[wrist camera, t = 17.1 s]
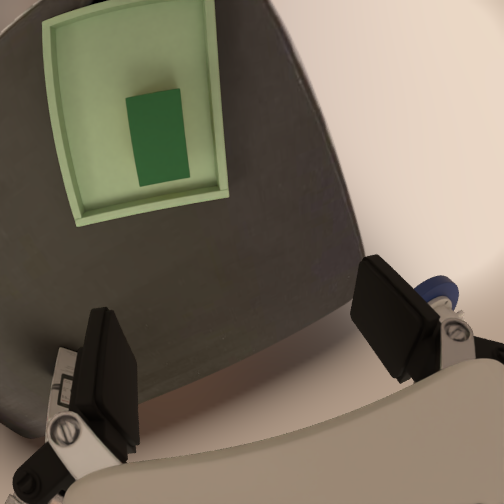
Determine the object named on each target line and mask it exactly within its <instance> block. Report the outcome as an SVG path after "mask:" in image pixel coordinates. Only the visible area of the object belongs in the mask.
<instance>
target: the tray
mask: <svg viewBox="0 0 504 504" xmlns="http://www.w3.org/2000/svg"><path fill="white" fill-rule="evenodd" d="M42 41H43V59H44V71H45V82H46V90H47V98H48V105H49V112H50V118H51V124H52V130H53V135H54V141H55V146H56V150H57V155H58V160H59V164H60V168H61V172H62V176H63V180H64V184H65V188H66V192H67V196H68V199H69V203H70V206H71V210H72V213H73V216H74V219H75V223H76V226H77V227H79V226H84V225H88V224H92V223H97V222H101V221H106V220H110V219H115V218H120V217H124V216H129V215H134V214H139V213H144V212H149V211H154V210H159V209H164V208H169V207H175V206H180V205H186V204H191V203H197V202H203V201H209V200H215V199H221V198H227V197H229V189H228V177H227V166H226V154H225V142H224V130H223V117H222V104H221V91H220V78H219V64H218V49H217V34H216V18H215V2H214V0H108V1H104V2H101V3H97V4H93V5H90V6H86V7H83V8H80V9H76V10H73V11H70V12H67V13H64V14H61V15H59V16H56V17H53V18H50V19H48V20H45V21H43V22H42ZM176 88H180V91H181V102H182V111H183V121H184V130H185V138H186V147H187V155H188V163H189V170H190V178H185V179H180V180H174V181H169V182H163V183H158V184H153V185H148V186H143V187H140V186H139V181H138V176H137V170H136V165H135V159H134V154H133V148H132V142H131V135H130V129H129V122H128V115H127V108H126V100H125V98H128V97H132V96H137V95H142V94H147V93H152V92H158V91H164V90H170V89H176Z"/></svg>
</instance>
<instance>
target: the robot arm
mask: <svg viewBox="0 0 504 504" xmlns="http://www.w3.org/2000/svg"><path fill="white" fill-rule="evenodd" d="M350 315H351V319H352V321H353V322H354V323H355V324H356V326H357V328H358V329H359V331H360V332H361V333H362V335H363V336H364V338H365V339H366V340H367V342H368V343H369V345H370V346H371V347H372V349H373V350H374V351H375V353H376V355H377V356H378V358H379V359H380V360H381V362H382V363H383V365H384V366H385V368H386V369H387V370H388V372H389V373H390V375H391V376H392V377H393V378H396V379H397V380H398V382H399V383H400V384H401V383H403V382H405V381H407V380H409V379H410V378H412V379H413V380H414V384H413V385H411V386H409V387H406V388H404V389H402V390H400V391H398V392H396V393H394V394H392V395H389V396H387V397H385V398H383V399H381V400H378V401H376V402H374V403H371V404H369V405H366V406H364V407H361V408H359V409H357V410H354V411H351V412H349V413H346V414H344V415H341V416H338V417H336V418H333V419H330V420H327V421H324V422H321V423H318V424H315V425H312V426H310V427H306V428H303V429H300V430H297V431H293V432H290V433H286V434H283V435H280V436H276V437H272V438H269V439H264V440H261V441H257V442H252V443H248V444H244V445H239V446H235V447H230V448H226V449H220V450H215V451H209V452H203V453H198V454H191V455H185V456H179V457H171V458H163V459H154V460H148V461H139V462H131V463H127V462H126V461H127V460H128V456H127V454H129V453H136V445H139V444H140V437H139V420H138V391H137V362H136V359H135V357H134V355H133V353H132V351H131V349H130V346H129V344H128V342H127V340H126V338H125V336H124V334H123V331H122V329H121V327H120V325H119V322H118V320H117V318H116V315H115V313H114V311H113V310H109V309H108V308H107V307H102V308H95V309H92V310H91V312H90V317H89V321H88V326H87V331H86V336H85V341H84V346H83V347H80V348H79V349H78V352H77V357H76V362H75V368H74V374H73V380H72V387H71V394H70V402H69V410H68V411H62V412H59V413H57V414H55V415H54V416H53V417H52V418H51V419H50V421H49V423H48V424H47V428H46V436H47V439H48V441H47V442H46V443H45V444H44V445H43V446H42V447H41V448H40V449H38V451H36V452H35V453H34V454H33V455H32V456H31V457H30V458H29V459H28V460H27V461H26V462H25V463H24V464H23V465H21V467H19V468H18V469H17V471H16V472H15V474H14V477H13V489H14V491H15V492H14V495H9V496H8V499H7V500H6V502H5V504H504V344H503V343H499V342H495V341H491V340H487V339H483V338H479V337H476V336H473V331H472V329H471V327H470V326H469V325H468V324H467V323H466V322H465V321H464V319H463V316H464V312H463V311H462V310H461V311H459V312H457V313H455V312H454V311H453V310H452V303H451V301H450V300H449V298H448V297H446V296H439V297H436V298H434V299H432V300H430V301H429V302H426V301H425V300H424V299H423V298H422V297H421V296H420V295H419V294H418V293H417V292H416V291H415V290H414V289H413V288H412V287H411V286H410V285H409V284H408V283H407V282H406V281H405V280H404V279H403V278H402V277H401V276H400V275H399V274H398V273H397V272H396V271H395V270H394V269H393V268H392V267H391V266H390V265H389V264H388V263H387V262H385V261H384V260H383V259H382V258H381V257H380V256H379V255H371V256H367V257H364V258H363V259H362V261H361V262H360V263H359V268H358V274H357V280H356V285H355V291H354V296H353V301H352V306H351V311H350Z"/></svg>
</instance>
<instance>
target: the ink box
mask: <svg viewBox="0 0 504 504" xmlns="http://www.w3.org/2000/svg"><path fill="white" fill-rule="evenodd" d="M76 357H77V352H74V351H71V350H68V349H65V348H62V347H60V348H59V352H58V356H57V360H56V365H55V369H54V375H53V380H52V386H51V392H50V399H49V406H48V414H47V424H48V423H49V421H50V419H51V418H52V417H53V416H54V415H55V414H57V413H59V412H62V411H68V410H69V402H70V394H71V387H72V380H73V374H74V368H75V362H76ZM47 424H46V428H47ZM47 441H48V439H47V436H46V439H45V443H46V442H47Z"/></svg>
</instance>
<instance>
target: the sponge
mask: <svg viewBox="0 0 504 504" xmlns="http://www.w3.org/2000/svg"><path fill="white" fill-rule="evenodd" d="M125 100H126V108H127V115H128V122H129V129H130V135H131V142H132V148H133V154H134V159H135V165H136V170H137V176H138V181H139V186H140V187H143V186H148V185H153V184H158V183H163V182H169V181H174V180H180V179H185V178H190V170H189V163H188V155H187V147H186V138H185V130H184V121H183V111H182V102H181V91H180V88H176V89H170V90H164V91H158V92H152V93H147V94H142V95H137V96H132V97H128V98H125Z"/></svg>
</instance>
